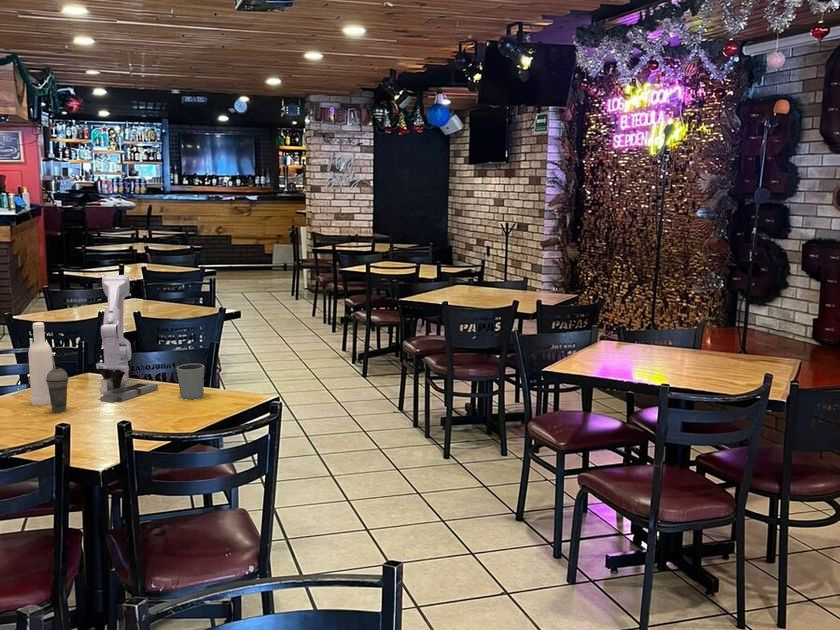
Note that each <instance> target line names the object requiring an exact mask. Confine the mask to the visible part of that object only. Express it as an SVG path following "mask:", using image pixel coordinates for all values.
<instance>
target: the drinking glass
mask: <svg viewBox="0 0 840 630" xmlns="http://www.w3.org/2000/svg"><path fill="white" fill-rule="evenodd" d="M175 369H176V374H177V380H178V388H179V396H180V397H179V398H180V399H181V398H182V399H181V400H184V399H187V400H186V401H193V399H195V400H200V399H202V398H204V391H205V390H204V389H205V388H204V385H205V379H204V378H205V365H204V364H201V363H185V364H181V365H178V366H176V367H175Z"/></svg>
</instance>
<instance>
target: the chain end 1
mask: <svg viewBox="0 0 840 630" xmlns="http://www.w3.org/2000/svg"><path fill="white" fill-rule="evenodd" d="M134 397H136V398H138V397H137V390H130V391H127V392H124V393H123V388H116V389H113V390H110V391H106V392H103V394H102V396H100V397H99V399H100V400H99V401H100V402H104V403H111V404H114V403H119V402H118V401H124V402H126V401H125V400H127V401H129V400H128V399H130V400H132V399H131V398H133V399H135V398H134Z"/></svg>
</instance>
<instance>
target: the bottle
mask: <svg viewBox="0 0 840 630" xmlns="http://www.w3.org/2000/svg"><path fill="white" fill-rule="evenodd" d="M32 330H33V332H32V333H33V334H32V335H33V343H32V344H31V345H30V346H29V349H28V352H27V353H28V366H29V381H30V384H29V385H30V401H31V405H32V406H45V405H46V406H47V405H51V401H50V395H49V389H48V385H47V381H46V378H47V374H48V372H49V371H50V370H52V369H54V366H53V361H52V356H53V349H52V348H51V346H50V344H49V343H48V342H46V340H45V339H46V337H45V323H44V322H41V321H40V322H39V321H37V322H33V323H32Z"/></svg>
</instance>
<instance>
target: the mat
mask: <svg viewBox="0 0 840 630" xmlns="http://www.w3.org/2000/svg"><path fill="white" fill-rule="evenodd" d="M159 390H160V389H158V388H157V389H156V390H155V391H152V392H149V393H146V394H143V395H137V397H134V398H131V399H128V400H125V401H118V402H117V403H124V402H127V401H129V400H132V399H135V398H138V397H142V396H144V395H148V394H151V393H153V392H157V391H159ZM97 400H99V401H101V400H100V398H97Z"/></svg>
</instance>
